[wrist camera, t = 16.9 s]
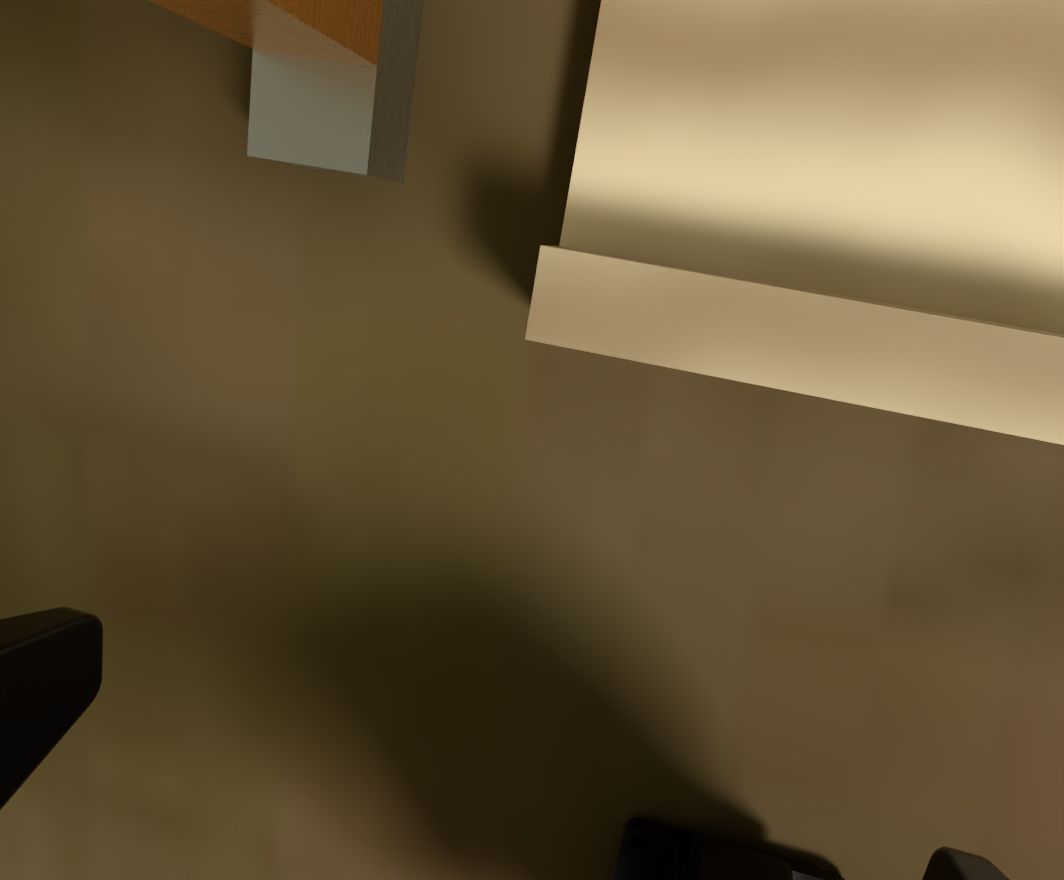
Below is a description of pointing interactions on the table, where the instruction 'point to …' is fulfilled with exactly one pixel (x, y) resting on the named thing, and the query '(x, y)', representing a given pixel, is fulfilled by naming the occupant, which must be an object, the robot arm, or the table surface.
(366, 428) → the table surface
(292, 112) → the grey-ended wooden block
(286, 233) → the table surface
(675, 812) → the table surface
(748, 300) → the slotted block
